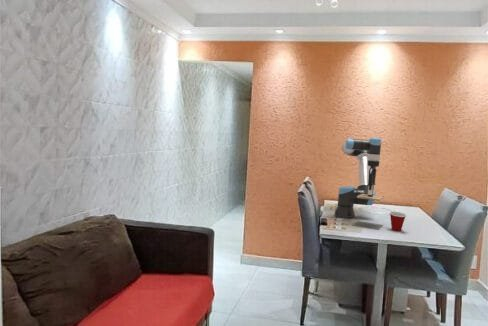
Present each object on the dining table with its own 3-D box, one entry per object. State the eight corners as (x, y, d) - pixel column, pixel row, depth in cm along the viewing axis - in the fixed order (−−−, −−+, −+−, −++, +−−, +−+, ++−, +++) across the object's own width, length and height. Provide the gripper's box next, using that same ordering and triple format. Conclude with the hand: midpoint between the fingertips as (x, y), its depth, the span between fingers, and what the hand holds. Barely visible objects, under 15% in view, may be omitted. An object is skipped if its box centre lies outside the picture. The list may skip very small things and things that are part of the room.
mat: (357, 221, 304) (357, 220, 304) (383, 225, 296) (383, 225, 296) (351, 226, 288) (351, 225, 288) (378, 230, 280) (378, 230, 280)
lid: (361, 195, 300) (363, 181, 299) (383, 197, 293) (384, 183, 292) (356, 197, 287) (357, 183, 286) (379, 200, 280) (380, 186, 279)
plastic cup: (393, 233, 277) (395, 215, 275) (384, 228, 287) (386, 211, 286) (408, 233, 279) (410, 215, 278) (399, 228, 289) (401, 211, 288)
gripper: (370, 159, 297) (367, 192, 299) (365, 160, 282) (362, 195, 285) (381, 160, 293) (378, 193, 295) (376, 161, 279) (373, 196, 281)
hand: (370, 194), depth 290 cm, fingers closed on lid, 3 cm apart
